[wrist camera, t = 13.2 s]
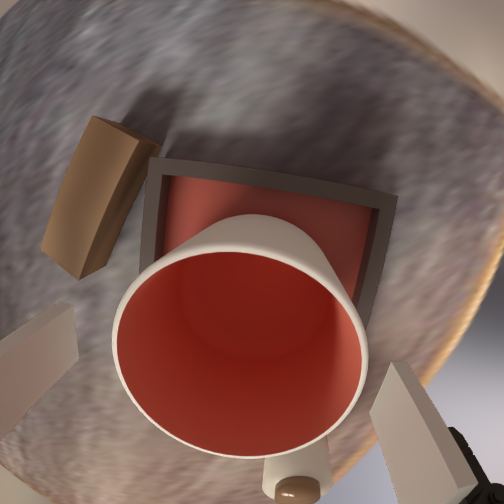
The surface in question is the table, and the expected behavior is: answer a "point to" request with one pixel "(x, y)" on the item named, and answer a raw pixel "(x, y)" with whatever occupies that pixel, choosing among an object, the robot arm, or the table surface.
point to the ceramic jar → (299, 474)
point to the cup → (242, 341)
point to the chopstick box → (96, 196)
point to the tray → (271, 204)
